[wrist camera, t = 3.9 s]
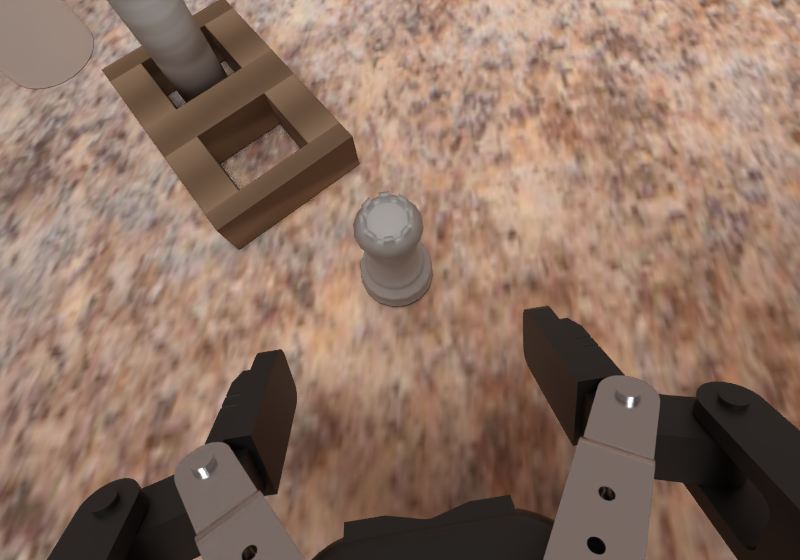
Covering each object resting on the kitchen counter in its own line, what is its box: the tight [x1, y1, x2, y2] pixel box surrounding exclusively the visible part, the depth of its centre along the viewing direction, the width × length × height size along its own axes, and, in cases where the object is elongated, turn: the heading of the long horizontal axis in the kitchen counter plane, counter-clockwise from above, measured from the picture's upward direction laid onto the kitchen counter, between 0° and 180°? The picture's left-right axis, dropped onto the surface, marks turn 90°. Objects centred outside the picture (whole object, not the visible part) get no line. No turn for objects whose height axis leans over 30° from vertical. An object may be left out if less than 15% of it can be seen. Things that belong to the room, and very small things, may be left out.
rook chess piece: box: [353, 192, 433, 306], centre depth 21 cm, size 4×4×8 cm
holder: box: [102, 0, 359, 249], centre depth 24 cm, size 16×10×11 cm, turn 39°
